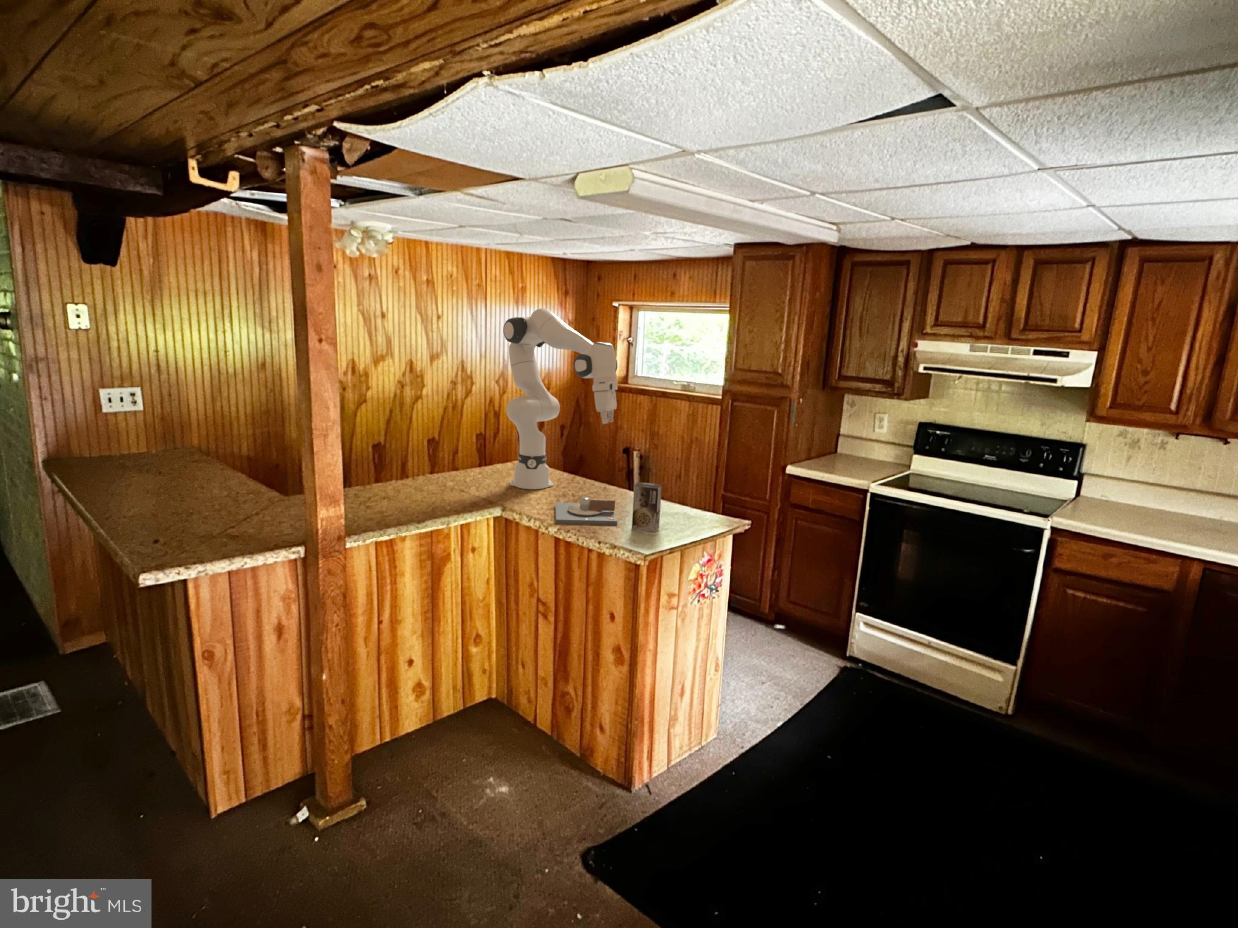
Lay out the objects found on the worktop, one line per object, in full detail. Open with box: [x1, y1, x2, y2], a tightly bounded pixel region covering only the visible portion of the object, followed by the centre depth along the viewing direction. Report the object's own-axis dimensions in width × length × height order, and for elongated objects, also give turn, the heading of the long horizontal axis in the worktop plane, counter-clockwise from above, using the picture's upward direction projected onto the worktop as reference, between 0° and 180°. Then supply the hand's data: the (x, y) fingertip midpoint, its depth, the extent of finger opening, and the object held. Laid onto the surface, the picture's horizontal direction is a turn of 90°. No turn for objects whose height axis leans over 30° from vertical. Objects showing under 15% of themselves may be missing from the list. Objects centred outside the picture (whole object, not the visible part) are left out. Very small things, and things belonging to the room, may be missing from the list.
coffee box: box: [631, 481, 663, 533], centre depth 233 cm, size 9×6×16 cm
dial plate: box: [554, 502, 618, 526], centre depth 246 cm, size 22×22×2 cm
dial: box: [568, 496, 616, 516], centre depth 246 cm, size 18×13×5 cm
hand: (607, 422), depth 246 cm, fingers open, 8 cm apart
